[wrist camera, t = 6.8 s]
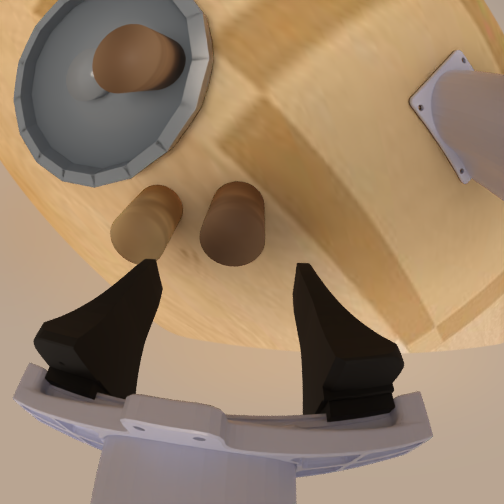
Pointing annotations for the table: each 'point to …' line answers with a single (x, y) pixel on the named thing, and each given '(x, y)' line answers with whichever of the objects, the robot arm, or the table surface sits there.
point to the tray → (99, 100)
